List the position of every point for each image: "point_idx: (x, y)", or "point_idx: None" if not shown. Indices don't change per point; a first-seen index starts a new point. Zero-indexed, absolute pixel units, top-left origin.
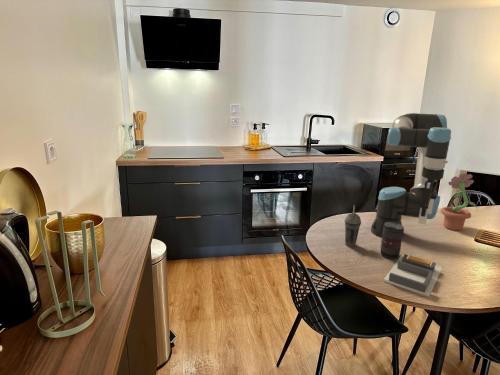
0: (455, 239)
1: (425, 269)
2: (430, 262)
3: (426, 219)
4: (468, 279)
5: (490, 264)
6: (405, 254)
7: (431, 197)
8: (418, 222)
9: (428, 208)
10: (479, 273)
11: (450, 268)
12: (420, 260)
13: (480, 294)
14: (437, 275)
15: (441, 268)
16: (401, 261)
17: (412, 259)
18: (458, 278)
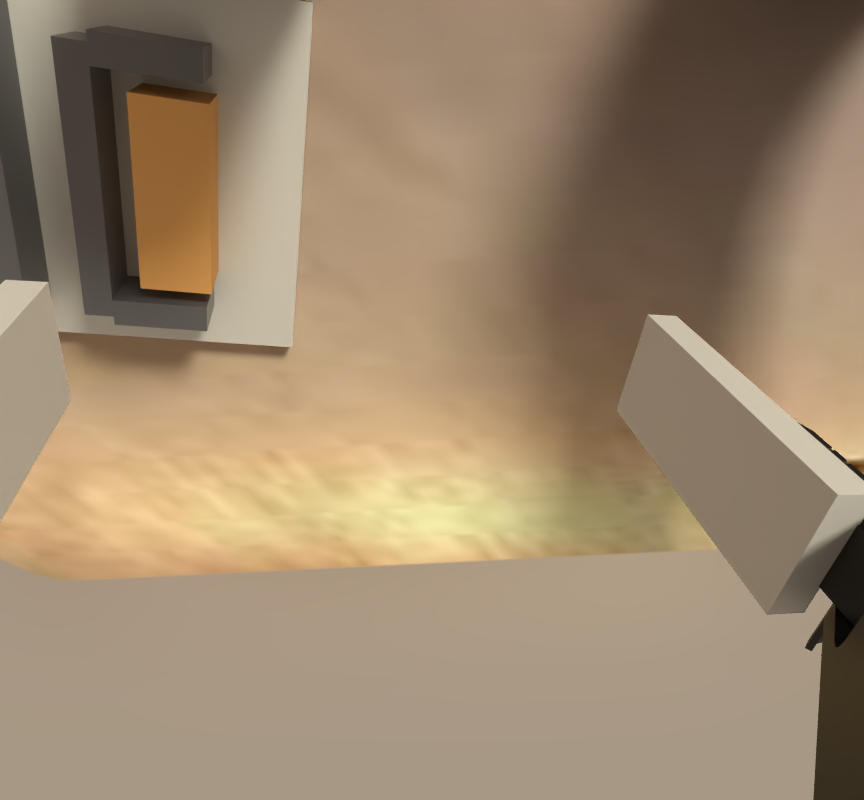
0: (834, 375)
1: (4, 269)
2: (196, 290)
3: (39, 450)
4: (256, 473)
5: (527, 541)
6: (197, 56)
7: (852, 592)
8: (2, 292)
9: (673, 413)
10: (377, 510)
11: (347, 382)
12: (162, 213)
13: (107, 528)
14: (128, 329)
15: (270, 343)
16: (173, 21)
17: (130, 139)
18: (228, 430)
